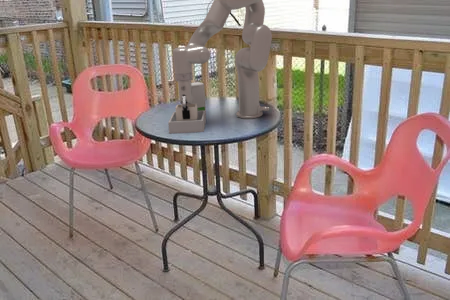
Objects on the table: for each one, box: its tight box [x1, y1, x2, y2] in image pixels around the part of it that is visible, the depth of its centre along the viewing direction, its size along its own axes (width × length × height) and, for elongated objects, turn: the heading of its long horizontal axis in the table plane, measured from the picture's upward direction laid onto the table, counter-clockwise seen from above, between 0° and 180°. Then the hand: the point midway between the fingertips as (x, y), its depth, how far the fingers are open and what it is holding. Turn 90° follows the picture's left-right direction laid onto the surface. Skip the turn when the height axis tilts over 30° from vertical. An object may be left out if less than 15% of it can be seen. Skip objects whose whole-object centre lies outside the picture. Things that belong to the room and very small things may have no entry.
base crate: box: [167, 111, 207, 134], centre depth 193 cm, size 15×16×5 cm
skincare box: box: [191, 81, 207, 113], centre depth 208 cm, size 8×7×16 cm
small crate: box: [175, 103, 198, 121], centre depth 191 cm, size 9×6×6 cm, turn 89°
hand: (187, 116), depth 192 cm, fingers closed on small crate, 6 cm apart
